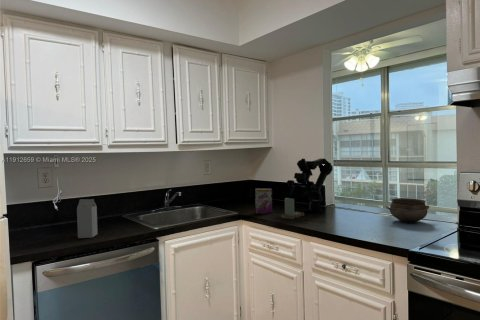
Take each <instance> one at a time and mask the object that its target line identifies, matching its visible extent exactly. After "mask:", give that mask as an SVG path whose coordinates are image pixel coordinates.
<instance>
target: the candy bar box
mask: <svg viewBox="0 0 480 320" xmlns="http://www.w3.org/2000/svg"><path fill="white" fill-rule="evenodd" d="M254 202H255V203H254V211H255V212H254V214H255V215H258V214H259V215H265V214H267V213H269V214H270V213H271V214H272V213H273V189H272V188H255V190H254Z"/></svg>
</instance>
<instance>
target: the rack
mask: <svg viewBox="0 0 480 320" xmlns="http://www.w3.org/2000/svg"><path fill="white" fill-rule="evenodd" d="M294 213H300V217H301V216H302V217H304V216H305V213H304V212H299V211H294ZM281 218H282V219H288V220H294V219H298V218H299V217H298V215H294V216H289V215H285V214H281Z"/></svg>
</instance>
